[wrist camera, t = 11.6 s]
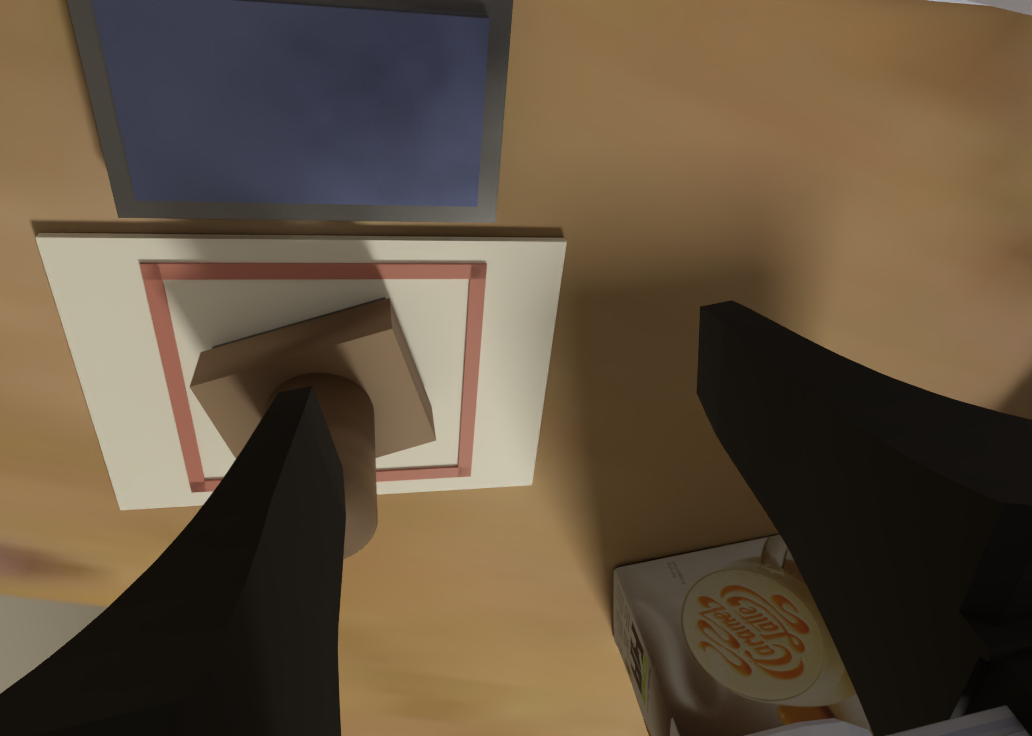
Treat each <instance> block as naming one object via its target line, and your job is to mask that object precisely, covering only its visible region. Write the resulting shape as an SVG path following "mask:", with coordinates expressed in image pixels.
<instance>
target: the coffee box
mask: <svg viewBox="0 0 1032 736" xmlns="http://www.w3.org/2000/svg"><path fill="white" fill-rule="evenodd" d="M613 622H614V640H615V643H616V645H617V647H618V649H619V651H620V654H621V656H622V659H623V662H624V664H625V667H626V670H627V672H628V675H629V678H630V680H631V683H632V686H633V689H634V692H635V695H636V698H637V701H638V704H639V707H640V710H641V713H642V716H643V719H644V722H645V725H646V728H647V731H648V734H649V736H745V735H749V734H753V733H757V732H761V731H765V730H769V729H773V728H777V727H781V726H785V725H789V724H793V723H797V722H804V721H813V720H822V719H831V718H835V719H838V720H841V721H844V722H847V723H850V724H853V725H856V726H859V727H862V728H865V729H868V730H869V731H870V733H871V735H872V736H874V735H873V733H872V730H871V728H870V725H869V723H868V720H867V718H866V716H865V713H864V711H863V708H862V706H861V703H860V701H859V698H858V696H857V694H856V691H855V689H854V687H853V685H852V682H851V680H850V678H849V675H848V673H847V671H846V669H845V666H844V664H843V662H842V660H841V657H840V655H839V653H838V651H837V648H836V646H835V644H834V642H833V639H832V637H831V635H830V633H829V631H828V629H827V627H826V625H825V622H824V620H823V618H822V616H821V614H820V612H819V610H818V608H817V606H816V604H815V601H814V599H813V597H812V595H811V593H810V591H809V589H808V587H807V585H806V583H805V581H804V579H803V577H802V575H801V573H800V571H799V569H798V567H797V565H796V563H795V561H794V559H793V557H792V555H791V553H790V551H789V549H788V547H787V546H786V544H785V542H784V541H783V539H782V537H781V535H775V536H770V537H765V538H760V539H755V540H750V541H746V542H741V543H736V544H731V545H726V546H721V547H716V548H711V549H706V550H702V551H696V552H691V553H687V554H682V555H676V556H672V557H667V558H662V559H657V560H652V561H647V562H642V563H637V564H632V565H627V566H621V567H618V568H616V569H615V570H614V582H613Z"/></svg>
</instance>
